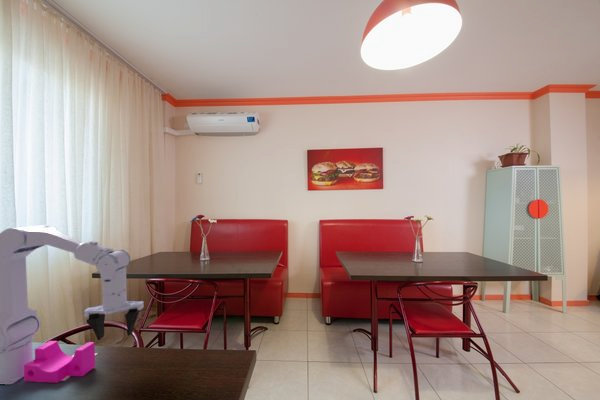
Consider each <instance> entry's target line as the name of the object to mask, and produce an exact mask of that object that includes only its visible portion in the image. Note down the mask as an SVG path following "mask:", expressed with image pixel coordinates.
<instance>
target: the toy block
mask: <svg viewBox="0 0 600 400" xmlns="http://www.w3.org/2000/svg"><path fill="white" fill-rule="evenodd" d="M95 343H96V342H95V341H88V342H86V343H85V344H83V345H81V346H80V347H78V348H76V349H75V351H74V354H73V355H74V357H72V356H73V355H68V354H66V353H65V352H64V351H63V350H62V348H61V347H60V345H59V341H58V340H49V341H47V342H45V343H43V344H42V345H39V346H37V347H35V348H34V358H33V360H32V361H31V362H29V363H27V364H25V365H24V377H23V381H24V382H31V383H32V382H33V383H34V382H35V383H36V382H37V383H52V384H53V383H55V384H56V383H58V384H59V382H61V380H62V379H64V378H65V377H66V376H70V377H84V376H86V374H88V373H89V372H90V371H92V370H93V369H94V368H96V356H95V352H96V347H95V346H96V345H95Z"/></svg>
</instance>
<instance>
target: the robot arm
mask: <svg viewBox="0 0 600 400" xmlns="http://www.w3.org/2000/svg"><path fill="white" fill-rule="evenodd" d="M44 246H51V247H54V248H57V249H59V250H62V251H65V252H68V253H72V254H73V255H74V258H75V259H76V260H78V261H81V262H83V263H86V264H89V265H90V266H94V267H96V270H97V271H98V272H99V275H100V279H101V288H102V289H101V290H102V293H101V294H102V297H101V298H102V304H101V305H98V306H93V307H92V306H91V307H87V308H86V309H85V310H84V313H83V317H84V318H87V317H88V318H87V319H86V324H88V325H89V327H91V329H92V330H93V332H94V334H95V337H96V340H97V341H100V340H101V339H103V338H104V336H105V319H106V318H105V317H106V315H111V314H113V313H119V312H126V314H124V317H125V320H126V335H127V336H131V335H132V334H133V333H134V327H135V324H136V320H137V318H138V316H139V314H140V311H142V310H143V309H144V307H145V305H144V303H145V302H144V301H143V300H141V301H140V300H139V301H133V300H132V301H131V300H130V301H129V300H128V297H127V296H128V295H127V293H128V292H127V290H128V289H127V266H128V265H129V264H130V262H131V255H130V254H129V252H127V251H125V250H124V249H117V250H114V248H112V247H106V246H103V245H100V244H99V241H96V240H93V241H91V240H90V241H89V240H88V241H84V242H82V241H80V240H78V239H76V238H74V237H71V236H69V235H67V234H65V233H63V232H60V231H58V229H57V228H56V227H53V226H50V225H49V224H48V225H47V224H39V225H32V226H24V227H11V228H10V227H9V228H5V229H4V230H3V231H1V232H0V384H5V385H13V384H15V383H16V382H17V381H19V380H21V379H22V378H24V365H25V364H27V363H29V362H31V361H32V360H34V343H33V342H34V338H35V337H36V333H37V332H38V331H39V330H40V329H41V326H42V325H41V320H40V318H39V316H38V311H37V310H36V309H33V308H29V299H28V298H29V297H28V281H27V280H28V279H27V278H28V277H27V261H26V260H27V259H26V257H27V256H29V255H31V253H33V252H34V251H36V250H37V249H40V248H42V247H44ZM127 311H128V312H127Z"/></svg>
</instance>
